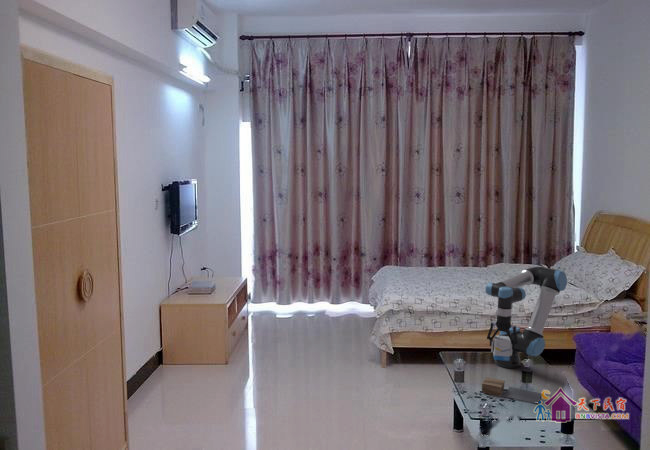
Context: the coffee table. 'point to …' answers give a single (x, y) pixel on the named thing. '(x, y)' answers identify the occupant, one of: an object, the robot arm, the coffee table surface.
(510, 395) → the mat
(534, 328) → the robot arm
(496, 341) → the ink box
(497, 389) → the walnut step
